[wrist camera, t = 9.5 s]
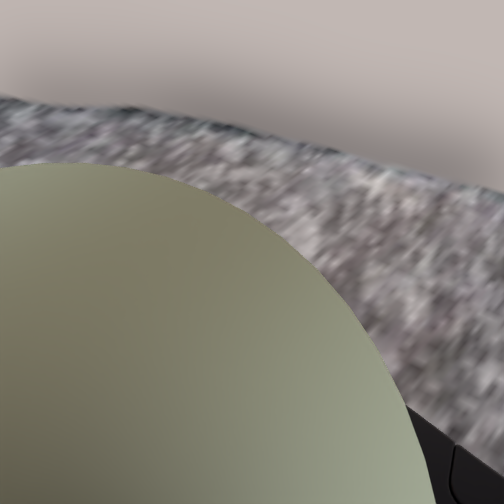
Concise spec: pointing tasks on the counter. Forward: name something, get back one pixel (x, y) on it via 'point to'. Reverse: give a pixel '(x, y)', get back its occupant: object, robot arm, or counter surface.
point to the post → (181, 355)
